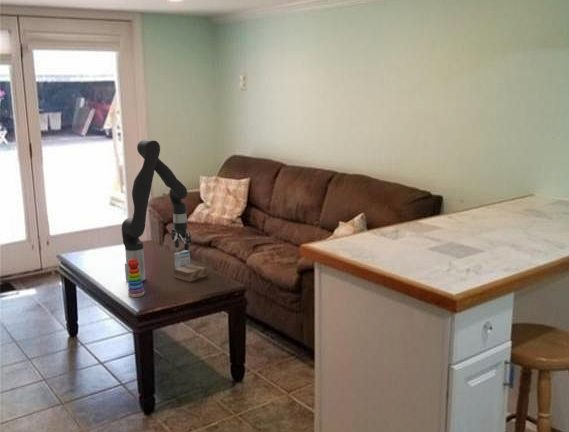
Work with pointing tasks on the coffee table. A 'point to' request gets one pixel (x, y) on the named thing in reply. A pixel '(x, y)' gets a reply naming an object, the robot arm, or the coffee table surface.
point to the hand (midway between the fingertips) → (181, 248)
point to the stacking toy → (135, 279)
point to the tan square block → (190, 272)
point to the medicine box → (182, 258)
